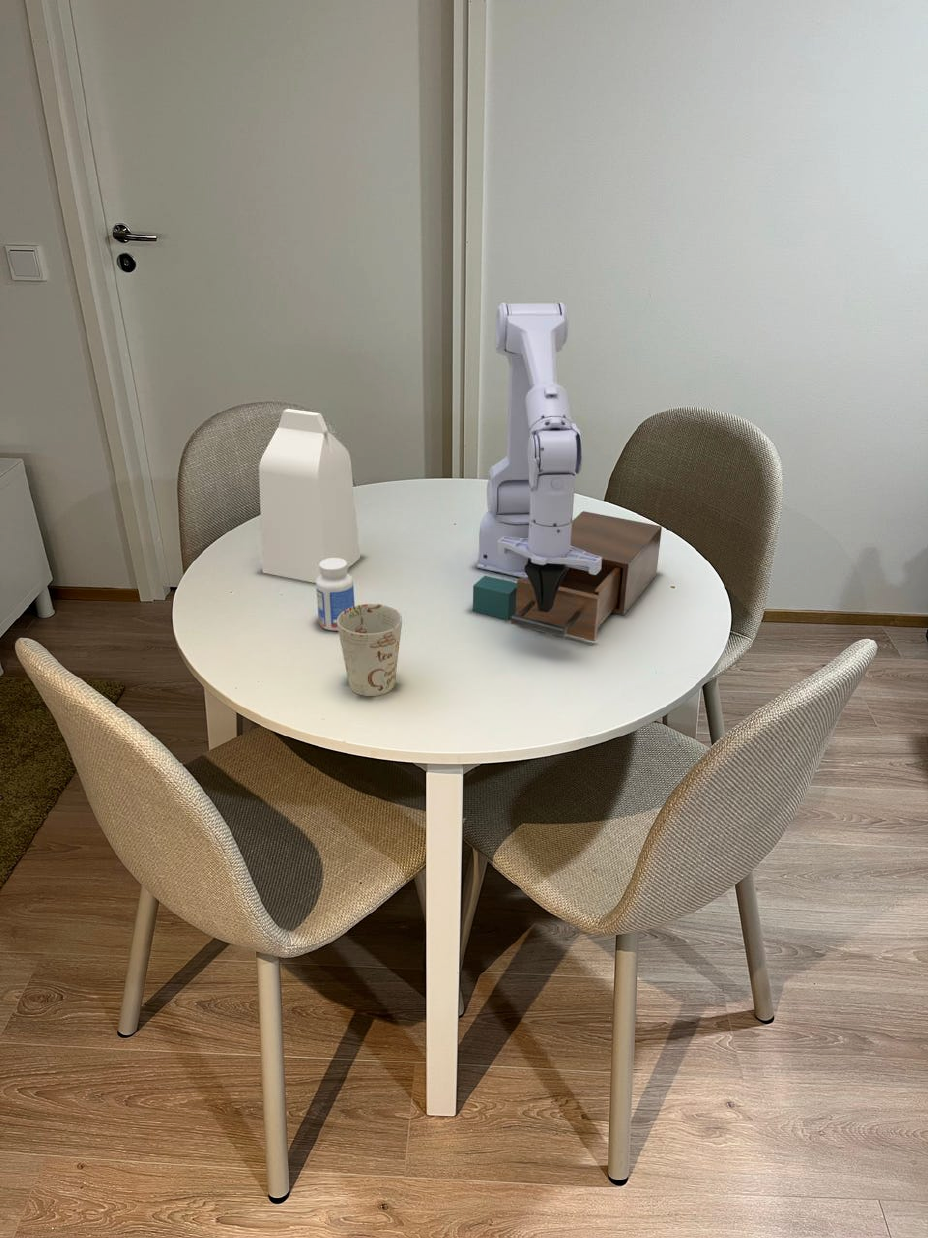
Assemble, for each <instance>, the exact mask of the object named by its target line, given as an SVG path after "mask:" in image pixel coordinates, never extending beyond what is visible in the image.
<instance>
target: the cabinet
mask: <svg viewBox="0 0 928 1238" xmlns="http://www.w3.org/2000/svg"><path fill="white" fill-rule="evenodd" d="M662 531H663V526H662V525H657V524H653V523H652V524H651V523H647V522H642V521H638V520H632V519H626V518H621V517H616V516H610V515H605V514H601V513H596V512H590V511H585V510H583V511H582V512H580V513H579V514H578V515H577V516H576V517H574V518H573V519H572V531H571V546H573V547H576V548H578V549H580V550H583V551H585V552H588V553H590V554H593V555H596V556H600V557H602V563H603V564H607V565H612V566H617V567H621V568H623V575H622V585H621V595H620V602H619V603H618V605H617V606H616V607H615V608H614V609H613V611H612V612H611V613H610V614H617V615H620V616H625V614H626V613H627V612H628V611H629V609H630V608H631V606H632V605H633V604H634V603H635V602H636V601H637V599H638V598H639V596H641V594H642V593H643V592H644V590H645V589H646V588H647V587H648V585H649V584H650V583H651V582H652V580H653V579H654V578H655V576H656V575H657V574H658V564H659V557H660V556H659V555H660V548H661V539H662Z"/></svg>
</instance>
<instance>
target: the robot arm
mask: <svg viewBox="0 0 928 1238" xmlns="http://www.w3.org/2000/svg"><path fill="white" fill-rule="evenodd" d="M568 333H569V312H568V309H567V306H566V305H565V304H564V303H563V302H562V301H560V302H555V303H554V302H553V303H551V302H550V303H545V302H544V303H542V302H541V303H506V302H500V304H499V305H498V306H497V308H496V313H495V340H494V341H495V343H494V344H495V345H494V346H495V349H496V353H497V354H498V355H502V356H505V357H507V362H508V366H509V376H508V377H509V378H508V379H509V380H508V404H507V405H508V406H507V407H508V408H507V434H506V435H507V436H506V455H505V457H503V458H502V459H501V460H499V461H498V462H496V463H495V464H493V465H492V466H491V467H490V469H489V471H488V481H487V484H486V504H487V511H486V513H485V514H484V515H483V517H482V519H481V522H480V526H479V533H478V563H477V564H476V567H477V569H482V570H487V571H491V572H496V573H499V574H504V575H508V576H511V577H512V576H513V577H516V578H517V577H518V578H525V579H528V578H529V580H530V582H531V584H532V587H533V589H534V592H535V596H536V600H537V604H538V610H539V611H542V612H546V613H548V612H549V611H550V610H551V609H552V607H553V603H554V600H555V596H556V593H557V591H558V588H559V586H560V584H561V582H562V580H563V578H564V576H565V574H566V573H567V571H568V569H569V568H570V567H572V568H576V569H581V570H585V571H589V574H593V575H596V574H597V573H598V572H599V571H600V570H601V564H602V557H600V556H596V555H593V554H590V553H588V552H585V551H583V550H580V549H578V548H576V547H573V546H571V531H572V521H573V519H574V518H573V516H574V502H575V489H576V474H577V475H579V474H580V473H581V470H582V465H583V456H584V452H583V451H584V449H583V440H582V434H581V431H580V429H579V428H578V426H577V424H576V423H574V422H573V418H572V413H571V407H570V401H569V394H568V392H567V390H566V389H565V387H563V386H562V385H560V384H558V368H557V353H559V352H561V351H563V347H564V346H565V344H566V343H567V340H568V335H569V334H568Z"/></svg>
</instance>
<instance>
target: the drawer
mask: <svg viewBox="0 0 928 1238" xmlns="http://www.w3.org/2000/svg"><path fill="white" fill-rule="evenodd" d="M622 575H623V568H621V567H617V566H612V565H607V564H603V563H602V564H601V570H600V571H599V572H598V573H597V574H596V575H593V574H589V571H585V570H581V569H576V568H572V567H570V568H569V569H568V571H567V573H566V574H565V576H564V578H563V580H562V582H561V584H560V586H559V588H558V591H557V593H556V596H555V600H554V603H553V607H552V609H551V610H550V611H549V612H548V613H546V612H542V611H539V610H538V604H537V600H536V596H535V592H534V589H533V587H532V584H531V582H530V580H529V578H527V579H526V578H521V577H518V579H516V583H517V594H516V613H515V614H514V615H512V617H511V618H510V624H511V625H514V626H518V627H522V628H526V629H530V630H534V631H538V632H542V633H546V634H549V635H553V636H558V637H560V638H561V637H562V638H566V636H571V637H576V638H580V639H584V640H587V641H591V642H595V641H596V640H597V639H598V631H599V627H600V626H601V625H602V624H603V623H604V621H605V620H606V619H608V617H609V615H610V614H612V613H611V612H612V611H613V609H614V608H615V607H616V606H617V605H618V603H619V602H620V595H621V585H622Z"/></svg>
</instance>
